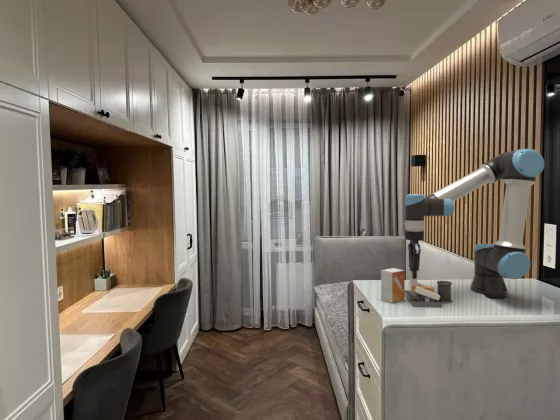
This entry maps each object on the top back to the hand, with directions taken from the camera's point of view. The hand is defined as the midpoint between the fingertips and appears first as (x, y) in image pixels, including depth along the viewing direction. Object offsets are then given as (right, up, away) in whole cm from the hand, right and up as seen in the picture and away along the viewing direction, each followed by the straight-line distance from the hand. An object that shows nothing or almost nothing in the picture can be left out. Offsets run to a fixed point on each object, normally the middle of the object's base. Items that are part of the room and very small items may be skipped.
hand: (413, 285), depth 159 cm
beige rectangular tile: (+3, -4, -6) cm, 8 cm away
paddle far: (+4, -3, +6) cm, 8 cm away
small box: (-8, -7, +1) cm, 11 cm away
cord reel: (+12, -6, -1) cm, 14 cm away
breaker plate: (+3, -6, 0) cm, 7 cm away
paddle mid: (+3, -3, 0) cm, 5 cm away
